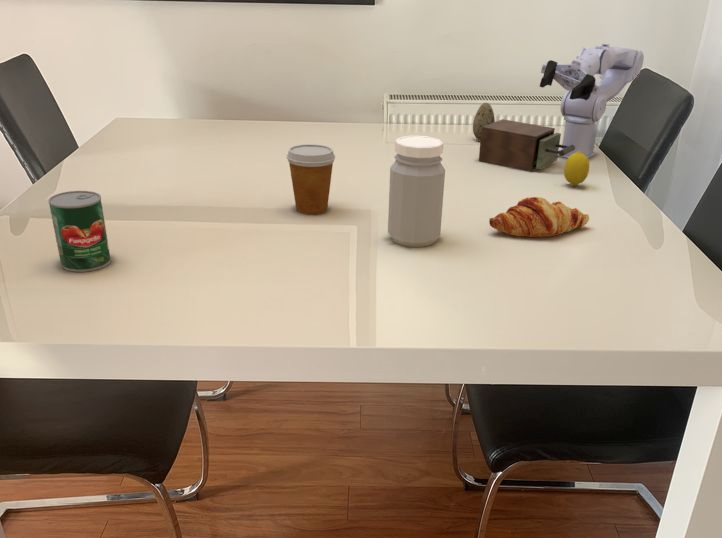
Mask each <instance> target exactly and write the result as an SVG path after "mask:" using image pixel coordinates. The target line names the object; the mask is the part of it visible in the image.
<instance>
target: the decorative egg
mask: <svg viewBox="0 0 722 538" xmlns="http://www.w3.org/2000/svg"><path fill="white" fill-rule="evenodd" d="M495 119H496V118H495V113H494V110H493V107H492V105H491V104H490V103H488V102H483V103H482V104H480V106H479V107H478V109H477V111H476V113H475V116H474V118H473V122H472V133H473V135H474V137H475V138H476V140H478V141H479V142H481V131H482V127H483V126H486V125H488V124H491V123H494V122H496V120H495Z"/></svg>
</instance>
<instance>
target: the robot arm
mask: <svg viewBox="0 0 722 538" xmlns="http://www.w3.org/2000/svg"><path fill="white" fill-rule="evenodd" d="M644 59H645V55H644V52H643V51H642V50H639V49H638V50H637V49H632V48H627V47H619V46H611V45H610V44H609V43H601V45H596V46H595V47H584V46H582V48H581V49H580V51H579V54H578V55H577V56H576V58H575V59H573V60H572V61H571V62H570V63H558V62H557V61H555V60H552V59H551V60H550V59H549V60H548V61H547V62H544V63H543V64H542V66H541V71H540V74H543V76H542V78H541V79H540V83H539V87H540V88H545V87H546V86H550V87H551V86H552V84H553V82H554V81H555V82H556V83H557V84H559V86H561V88H563V89H564V90H566V92H565V93H564V94H563V97H562V99H561V102H560V113H561V116H562V117H563V120H564V121H565V124H564V131H563V137H562V142H561V145H565V146H570V145H574V146H575V150H573V151H572V152H570V153H568V154H566V155H564V156H559V154H558V156H557V157H560V158H565V159H568V157H569V156H570V155H572V154H574V153H577V152H578V151H581V153H583V154H584V155H585V156H586V157H587V158H588V159H590V158H592V157H593V156H595V155H597V151H594V149H595V143H596V138H597V131H598V127H597V124H596V123H597V122H598V121H600V120H601V119H602V116H603V115H604V114H605V112H606V110H607V102H609V101H611V100H612V99H613V98H615V97H617V95H619V94H620V93H621V91H622V90H623V89H624V88H625V87H626V85H627V84H628V83H629V84H630V83H631V82H633V81H634V80H636V79H637V78H638V77H637V75H638V74H639V75H640V73H641V71H642V68H643V64H644V61H645V60H644ZM595 75H598V76H599V77H598V78H599V79H600V81H597V80H596V77H595ZM639 75H638V76H639ZM636 77H637V78H636ZM635 78H636V79H635ZM563 149H565V148H560V151H561V150H563Z"/></svg>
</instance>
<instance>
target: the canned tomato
mask: <svg viewBox="0 0 722 538" xmlns="http://www.w3.org/2000/svg"><path fill="white" fill-rule="evenodd" d="M48 204H49V211H50V215H51V220H52V225H53V230H54V235H55V241H56V242H55V243H56V246H57V251H58V257H59V260H60V266H61V268H62V269H63V270H65V271H69V272H73V273H86V272H93V271H98V270H101V269H103V268H105V267H107V266H109V265H110V264H111V261H112V258H111V253H110V246H109V240H108V234H107V229H106V220H105V216H104V209H103V203H102V196H101V195H100V194H99V193H98V192H95V191H91V190H90V191H89V190H72V191H70V190H69V191H63V192H60V193H57V194H54V195H52V196H50V197H49V198H48Z"/></svg>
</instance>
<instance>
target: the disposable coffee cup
mask: <svg viewBox="0 0 722 538" xmlns="http://www.w3.org/2000/svg"><path fill="white" fill-rule="evenodd" d="M286 159H287V162H288V164H289V165H288V166H289V171H290V177H291V183H292V192H293V196H294V205H295V210H296V211H297V212H298V213H300V214H304V215H321V214H323V213H326V212H327V211H328V207H329V199H330V191H331V182H332V173H333V166H334V165H333V164H334V162H335V159H336V155H335V153H334V149H333V148H332V147H330V146H328V145H323V144H316V143H315V144H313V143H312V144H311V143H307V144H297V145H293V146H290V147H289V148H288V151H287V154H286Z"/></svg>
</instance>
